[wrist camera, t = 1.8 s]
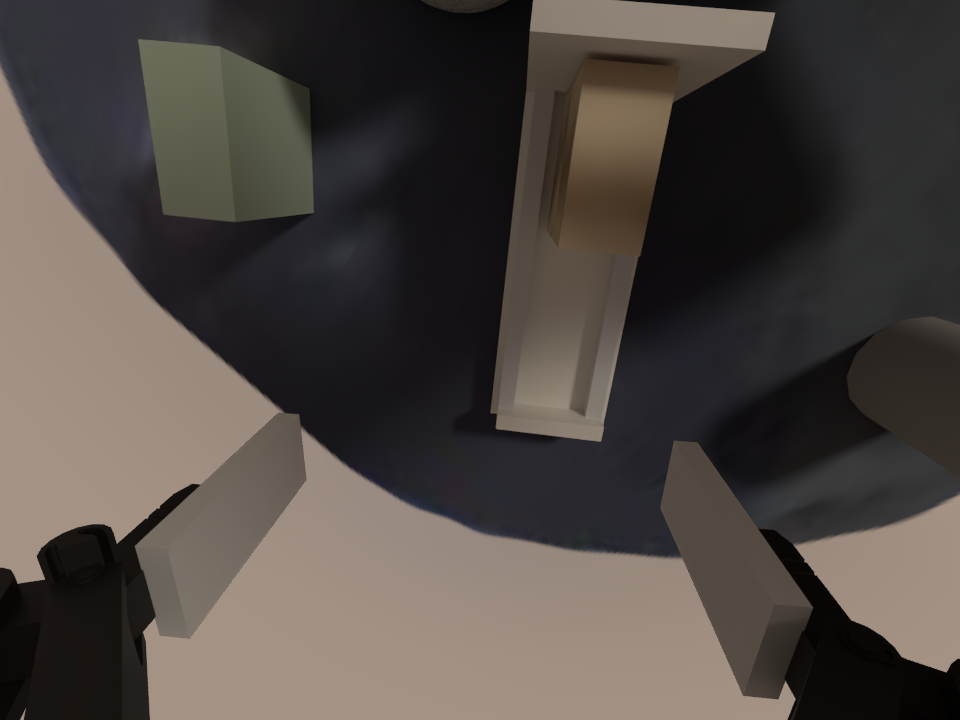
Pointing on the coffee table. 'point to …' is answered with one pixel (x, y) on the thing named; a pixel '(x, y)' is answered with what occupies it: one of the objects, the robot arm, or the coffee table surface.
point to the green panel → (226, 134)
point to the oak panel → (610, 155)
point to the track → (532, 252)
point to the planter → (464, 5)
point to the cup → (913, 385)
